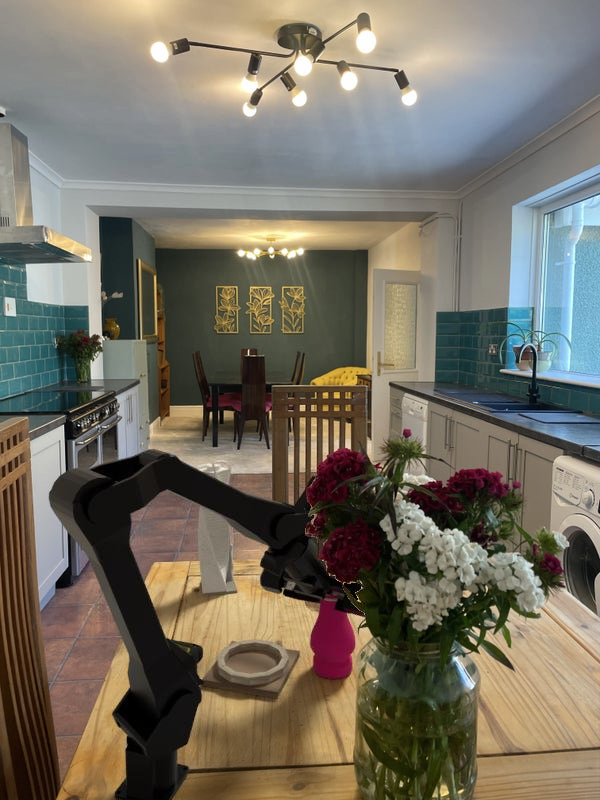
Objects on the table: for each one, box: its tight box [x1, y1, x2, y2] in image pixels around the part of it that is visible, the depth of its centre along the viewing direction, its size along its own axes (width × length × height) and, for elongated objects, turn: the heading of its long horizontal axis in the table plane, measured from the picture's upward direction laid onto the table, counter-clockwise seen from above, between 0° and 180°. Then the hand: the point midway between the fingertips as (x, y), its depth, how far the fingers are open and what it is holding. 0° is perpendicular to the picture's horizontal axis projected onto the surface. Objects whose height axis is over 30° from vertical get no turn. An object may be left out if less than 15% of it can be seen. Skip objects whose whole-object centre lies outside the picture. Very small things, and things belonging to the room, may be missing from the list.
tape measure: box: [169, 638, 204, 667], centre depth 94 cm, size 7×7×4 cm
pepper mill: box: [309, 589, 357, 680], centre depth 94 cm, size 7×7×20 cm
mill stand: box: [201, 638, 301, 700], centre depth 94 cm, size 12×12×2 cm
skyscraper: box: [195, 459, 238, 597], centre depth 123 cm, size 8×8×28 cm
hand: (337, 604), depth 95 cm, fingers closed on pepper mill, 5 cm apart
